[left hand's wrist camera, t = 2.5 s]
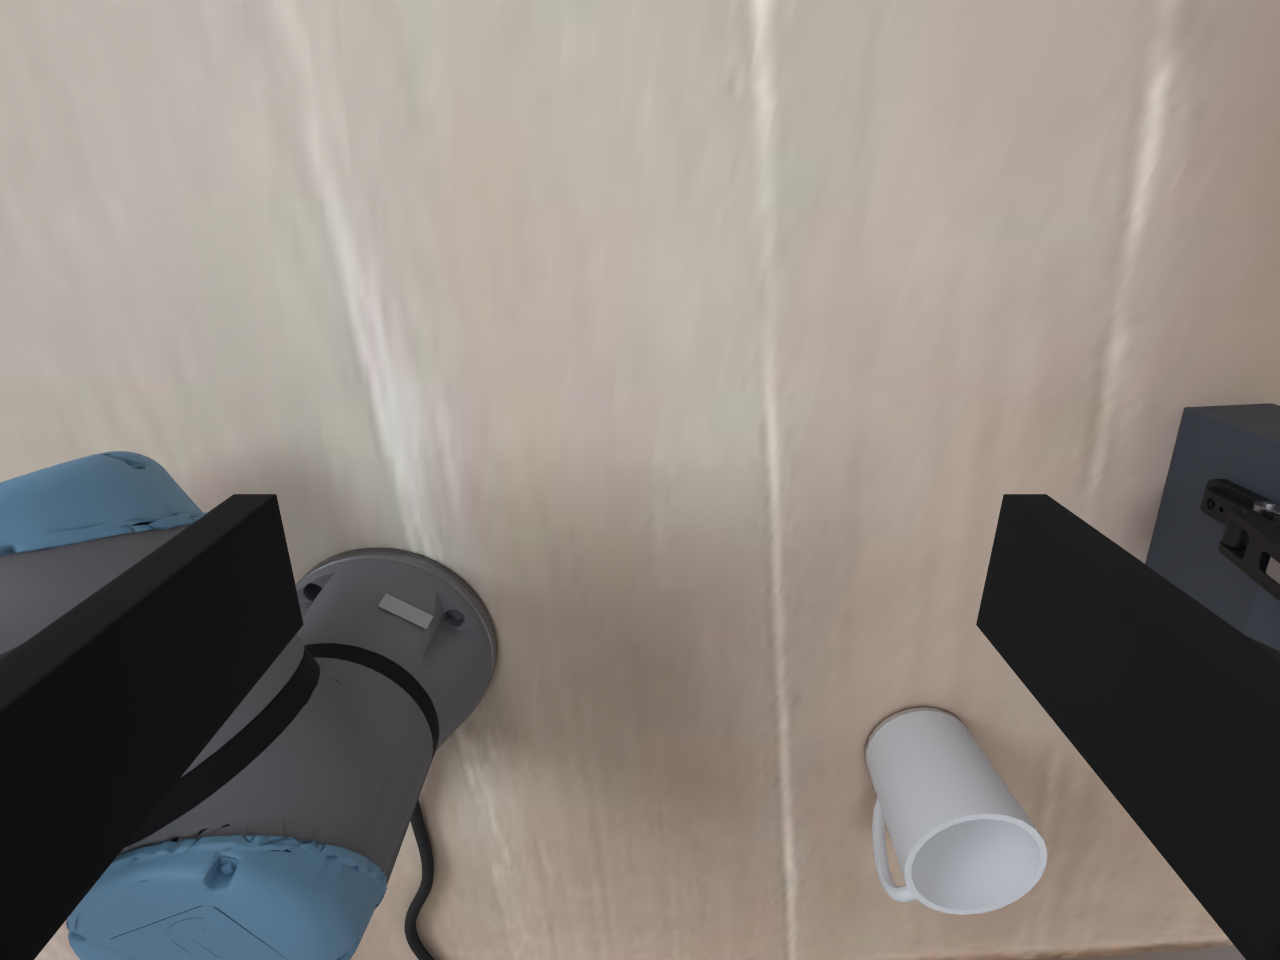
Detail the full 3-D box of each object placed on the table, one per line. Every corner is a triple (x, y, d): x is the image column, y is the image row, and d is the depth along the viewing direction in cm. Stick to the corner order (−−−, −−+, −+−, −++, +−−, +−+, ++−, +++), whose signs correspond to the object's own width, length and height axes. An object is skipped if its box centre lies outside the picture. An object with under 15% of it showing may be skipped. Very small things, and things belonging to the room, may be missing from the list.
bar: (1184, 698, 52) (1281, 786, 44) (1111, 700, 52) (1194, 789, 44) (1272, 403, 43) (1411, 447, 35) (1184, 407, 43) (1303, 452, 36)
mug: (928, 680, 51) (993, 790, 41) (998, 747, 53) (1075, 865, 44) (814, 762, 54) (850, 882, 44) (885, 822, 56) (934, 948, 47)
